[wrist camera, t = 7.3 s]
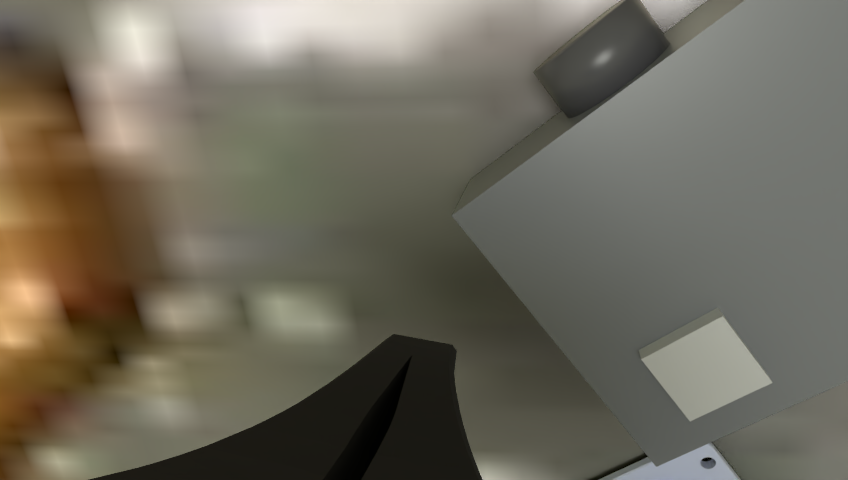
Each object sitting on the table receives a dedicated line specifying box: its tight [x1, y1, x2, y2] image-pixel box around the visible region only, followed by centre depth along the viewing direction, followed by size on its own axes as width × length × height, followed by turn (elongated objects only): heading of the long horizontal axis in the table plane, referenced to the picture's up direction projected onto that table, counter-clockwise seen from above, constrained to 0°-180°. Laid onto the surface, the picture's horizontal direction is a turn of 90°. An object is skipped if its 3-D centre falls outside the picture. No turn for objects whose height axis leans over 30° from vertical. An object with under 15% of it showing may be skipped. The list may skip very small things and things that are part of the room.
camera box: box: [452, 0, 848, 467], centre depth 16 cm, size 12×11×4 cm
